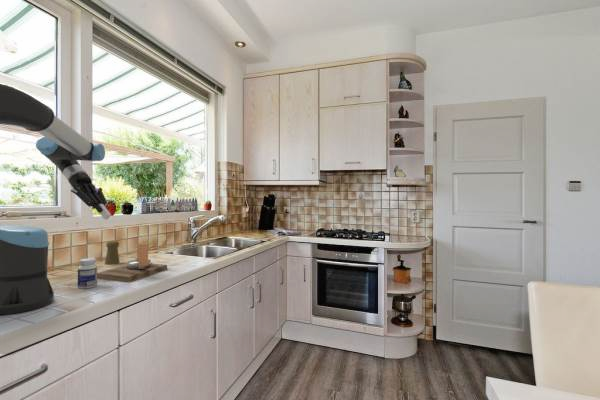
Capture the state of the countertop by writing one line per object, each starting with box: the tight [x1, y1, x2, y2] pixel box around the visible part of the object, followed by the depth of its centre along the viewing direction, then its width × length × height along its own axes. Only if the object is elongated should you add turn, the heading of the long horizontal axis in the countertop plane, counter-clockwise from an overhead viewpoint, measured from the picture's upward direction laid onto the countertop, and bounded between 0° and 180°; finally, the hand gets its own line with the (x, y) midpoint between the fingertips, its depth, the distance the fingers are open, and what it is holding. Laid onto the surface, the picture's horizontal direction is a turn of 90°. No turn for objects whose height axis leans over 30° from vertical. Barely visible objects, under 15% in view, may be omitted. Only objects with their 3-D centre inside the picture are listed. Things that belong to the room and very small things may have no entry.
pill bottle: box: [77, 257, 98, 290], centre depth 105 cm, size 6×6×10 cm
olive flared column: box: [104, 240, 120, 266], centre depth 141 cm, size 6×6×11 cm
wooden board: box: [97, 262, 168, 283], centre depth 124 cm, size 22×16×2 cm
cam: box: [126, 242, 152, 269], centre depth 126 cm, size 20×9×12 cm, turn 36°
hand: (107, 217), depth 123 cm, fingers closed
